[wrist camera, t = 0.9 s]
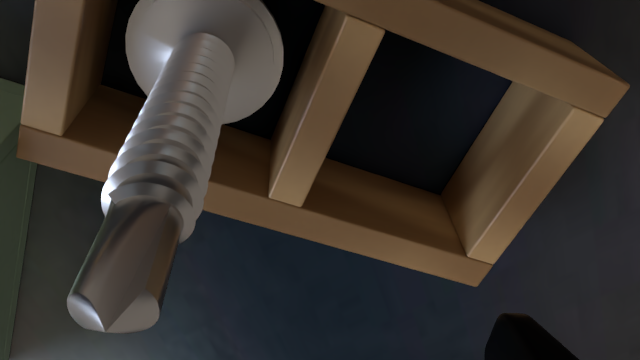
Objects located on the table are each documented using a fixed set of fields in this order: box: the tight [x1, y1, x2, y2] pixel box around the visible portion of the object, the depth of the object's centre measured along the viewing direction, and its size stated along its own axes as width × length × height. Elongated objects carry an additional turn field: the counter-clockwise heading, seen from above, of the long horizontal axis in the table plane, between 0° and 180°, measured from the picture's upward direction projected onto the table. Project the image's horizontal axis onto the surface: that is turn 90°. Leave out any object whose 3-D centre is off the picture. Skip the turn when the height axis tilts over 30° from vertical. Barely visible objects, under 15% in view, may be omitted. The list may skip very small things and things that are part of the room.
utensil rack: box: [16, 0, 630, 287], centre depth 17 cm, size 9×16×4 cm, turn 68°
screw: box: [67, 0, 284, 333], centre depth 13 cm, size 13×5×5 cm
